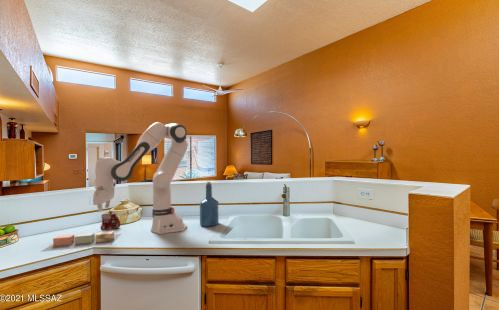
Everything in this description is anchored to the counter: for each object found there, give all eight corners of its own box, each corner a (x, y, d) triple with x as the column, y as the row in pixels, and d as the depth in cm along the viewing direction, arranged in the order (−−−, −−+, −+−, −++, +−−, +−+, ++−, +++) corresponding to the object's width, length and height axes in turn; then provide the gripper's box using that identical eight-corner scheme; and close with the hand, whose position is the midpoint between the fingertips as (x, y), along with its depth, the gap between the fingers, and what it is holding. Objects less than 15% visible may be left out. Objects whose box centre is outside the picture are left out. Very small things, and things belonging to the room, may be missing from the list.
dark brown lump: (115, 231, 145) (115, 215, 145) (98, 231, 146) (97, 215, 146) (122, 227, 151) (122, 212, 151) (106, 227, 153) (105, 212, 153)
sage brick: (94, 239, 127) (94, 232, 127) (91, 242, 123) (91, 235, 123) (78, 241, 125) (78, 234, 125) (74, 243, 121) (74, 236, 121)
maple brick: (114, 237, 129) (114, 231, 129) (111, 240, 126) (111, 233, 126) (98, 239, 128) (98, 232, 128) (95, 242, 124) (95, 234, 124)
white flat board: (121, 235, 136) (121, 233, 136) (111, 246, 120) (111, 244, 120) (60, 241, 129) (60, 239, 129) (40, 253, 112) (40, 251, 112)
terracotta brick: (74, 241, 125) (74, 234, 125) (70, 244, 121) (70, 237, 121) (57, 243, 123) (57, 235, 123) (53, 246, 119) (53, 238, 119)
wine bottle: (203, 228, 147) (202, 183, 147) (197, 223, 159) (196, 181, 159) (222, 225, 154) (221, 182, 154) (215, 220, 166) (214, 180, 166)
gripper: (103, 187, 118) (102, 213, 118) (116, 183, 138) (116, 205, 137) (89, 188, 116) (89, 214, 116) (105, 183, 136) (104, 205, 136)
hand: (104, 209), depth 127 cm, fingers open, 8 cm apart
